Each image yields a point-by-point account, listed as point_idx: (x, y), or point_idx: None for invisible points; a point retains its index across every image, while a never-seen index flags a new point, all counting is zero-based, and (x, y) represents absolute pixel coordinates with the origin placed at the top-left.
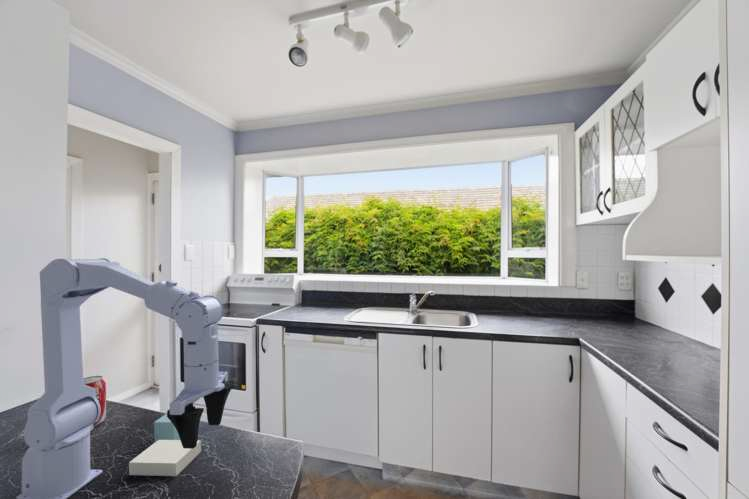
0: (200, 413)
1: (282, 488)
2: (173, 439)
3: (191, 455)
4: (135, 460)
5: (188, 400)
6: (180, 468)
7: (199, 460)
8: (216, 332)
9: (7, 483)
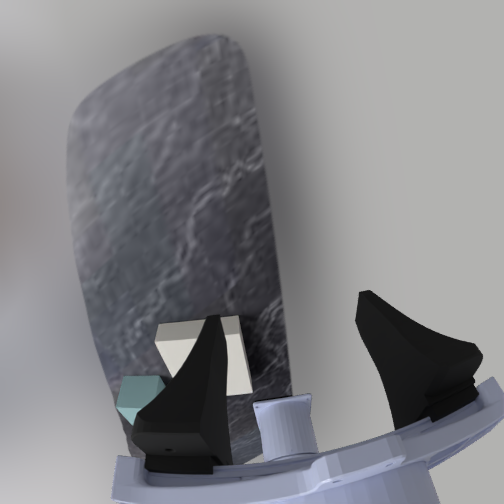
0: (446, 355)
1: (230, 48)
2: (158, 382)
3: (189, 329)
4: (246, 389)
5: (489, 417)
6: (225, 321)
7: (183, 308)
8: None
9: None
